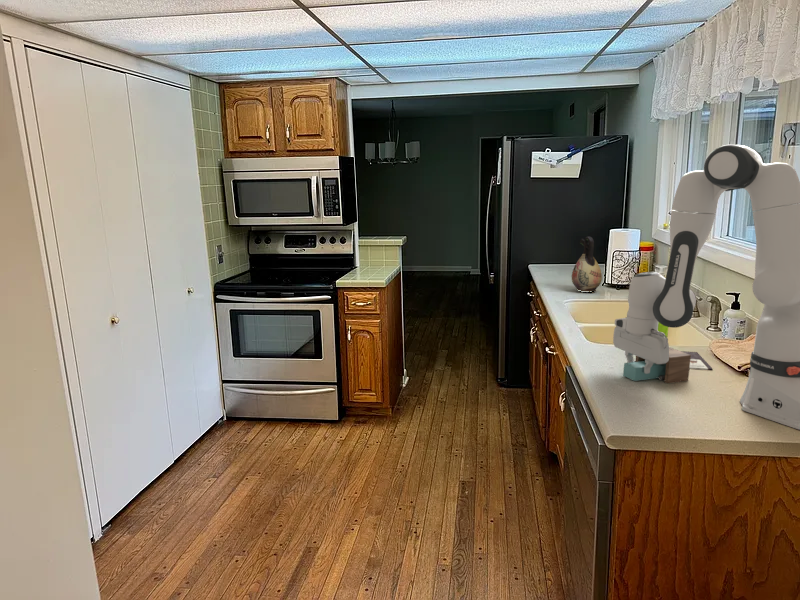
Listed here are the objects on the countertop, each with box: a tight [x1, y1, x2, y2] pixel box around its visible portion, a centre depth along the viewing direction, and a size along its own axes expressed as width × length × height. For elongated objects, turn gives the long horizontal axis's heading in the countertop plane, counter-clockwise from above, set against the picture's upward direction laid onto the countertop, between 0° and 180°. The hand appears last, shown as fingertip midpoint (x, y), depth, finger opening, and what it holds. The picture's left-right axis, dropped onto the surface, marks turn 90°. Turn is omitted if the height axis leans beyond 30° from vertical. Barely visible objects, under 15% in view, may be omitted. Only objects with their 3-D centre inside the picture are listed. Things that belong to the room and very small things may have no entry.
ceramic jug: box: [571, 236, 603, 292], centre depth 302 cm, size 17×15×30 cm
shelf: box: [634, 346, 691, 384], centre depth 176 cm, size 14×8×8 cm, turn 18°
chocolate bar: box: [680, 350, 714, 371], centre depth 191 cm, size 9×1×18 cm
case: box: [622, 361, 666, 382], centre depth 175 cm, size 14×5×4 cm, turn 108°
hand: (638, 369), depth 174 cm, fingers closed on case, 5 cm apart
